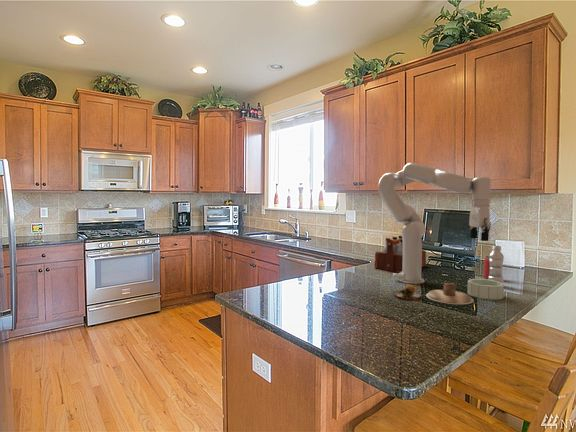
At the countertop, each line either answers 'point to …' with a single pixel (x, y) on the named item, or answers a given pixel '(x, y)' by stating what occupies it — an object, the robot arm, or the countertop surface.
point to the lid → (449, 294)
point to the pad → (450, 303)
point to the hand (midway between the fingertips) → (479, 239)
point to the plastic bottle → (496, 264)
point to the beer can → (486, 267)
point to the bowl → (485, 289)
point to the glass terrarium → (408, 293)
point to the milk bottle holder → (393, 255)
